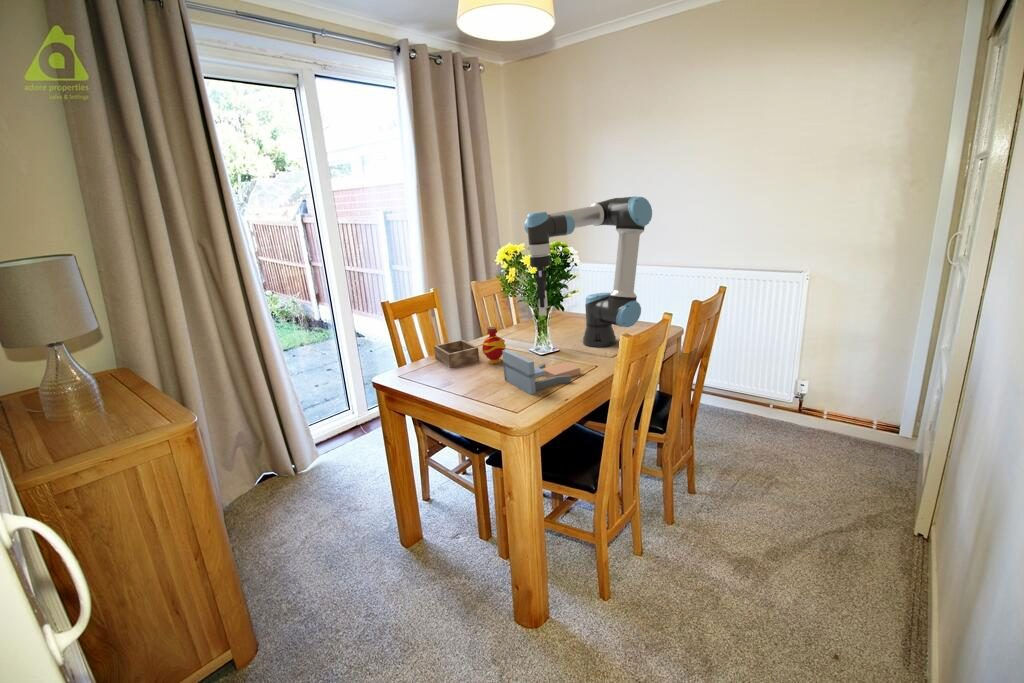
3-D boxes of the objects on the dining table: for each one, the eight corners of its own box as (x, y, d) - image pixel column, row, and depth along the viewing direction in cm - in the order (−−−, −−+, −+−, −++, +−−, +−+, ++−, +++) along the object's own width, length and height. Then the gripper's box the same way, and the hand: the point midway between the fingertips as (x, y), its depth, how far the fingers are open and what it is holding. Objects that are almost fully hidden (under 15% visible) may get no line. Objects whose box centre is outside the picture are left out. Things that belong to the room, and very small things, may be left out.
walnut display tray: (463, 351, 224) (461, 339, 222) (479, 360, 209) (478, 347, 208) (435, 358, 217) (433, 345, 215) (450, 367, 203) (448, 354, 201)
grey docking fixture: (543, 369, 193) (542, 340, 190) (572, 382, 177) (571, 351, 174) (504, 379, 184) (502, 350, 181) (531, 394, 169) (528, 362, 165)
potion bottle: (486, 366, 201) (482, 332, 197) (481, 359, 211) (477, 326, 206) (509, 362, 204) (507, 329, 199) (503, 356, 213) (501, 323, 209)
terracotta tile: (566, 368, 193) (566, 361, 192) (580, 375, 185) (580, 367, 184) (542, 375, 187) (541, 368, 186) (555, 382, 179) (554, 375, 179)
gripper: (531, 252, 188) (535, 304, 195) (527, 260, 165) (532, 320, 171) (550, 250, 188) (553, 303, 194) (549, 259, 164) (552, 318, 170)
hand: (543, 311), depth 182 cm, fingers open, 13 cm apart
